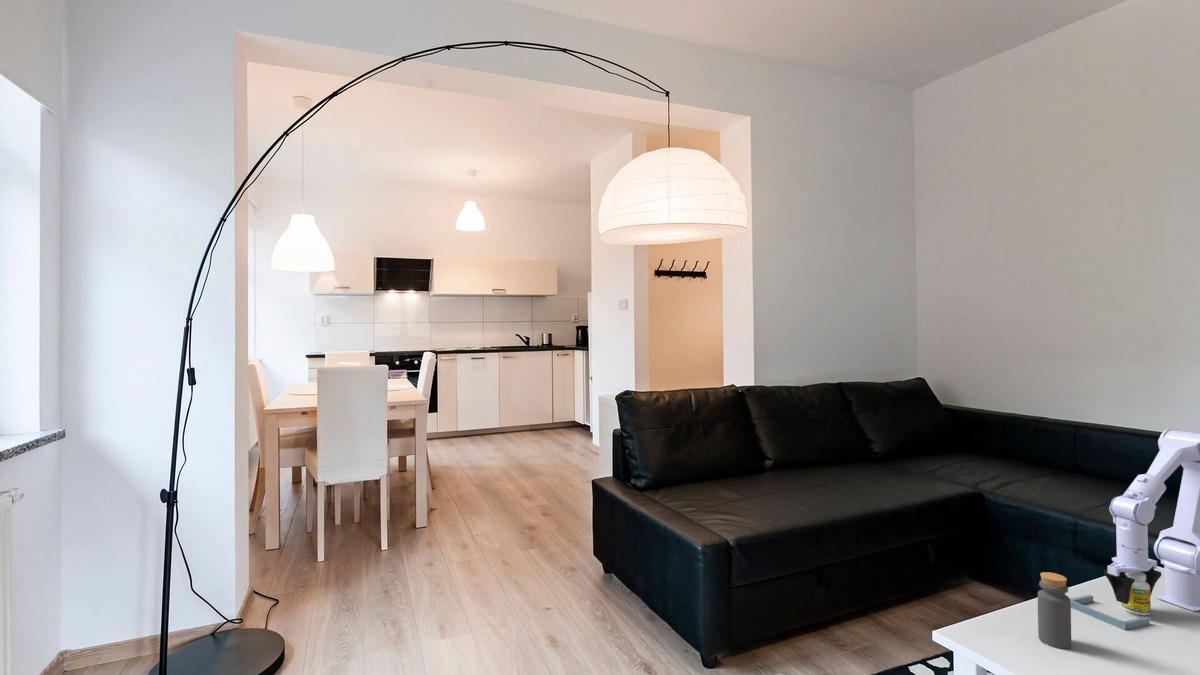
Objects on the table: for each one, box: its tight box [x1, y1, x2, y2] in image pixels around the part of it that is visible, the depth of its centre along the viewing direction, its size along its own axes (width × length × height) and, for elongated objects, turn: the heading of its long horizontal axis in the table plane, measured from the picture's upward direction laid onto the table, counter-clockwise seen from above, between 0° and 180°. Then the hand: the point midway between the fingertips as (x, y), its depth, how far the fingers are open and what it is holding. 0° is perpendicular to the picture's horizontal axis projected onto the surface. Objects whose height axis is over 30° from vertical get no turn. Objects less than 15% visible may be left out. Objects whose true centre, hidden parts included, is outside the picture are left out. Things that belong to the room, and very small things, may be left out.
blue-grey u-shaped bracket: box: [1070, 594, 1151, 631], centre depth 138 cm, size 8×13×2 cm, turn 16°
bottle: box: [1037, 571, 1072, 650], centre depth 127 cm, size 6×6×15 cm
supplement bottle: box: [1121, 571, 1152, 616], centre depth 140 cm, size 5×5×10 cm
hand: (1133, 599), depth 140 cm, fingers open, 7 cm apart
